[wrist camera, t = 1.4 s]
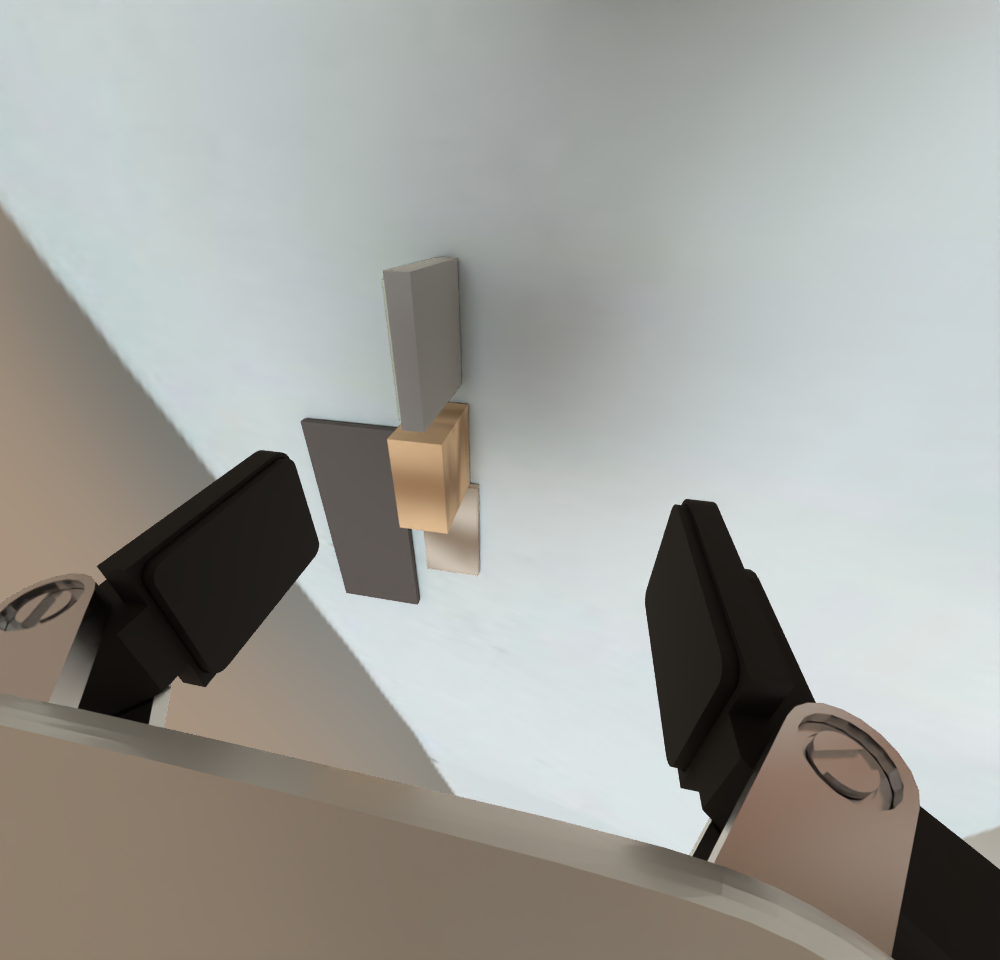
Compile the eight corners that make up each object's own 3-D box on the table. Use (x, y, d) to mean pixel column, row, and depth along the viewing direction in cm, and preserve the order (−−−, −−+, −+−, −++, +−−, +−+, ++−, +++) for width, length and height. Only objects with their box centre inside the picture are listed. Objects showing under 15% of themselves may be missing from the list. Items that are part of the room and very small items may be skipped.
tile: (432, 256, 25) (376, 270, 19) (457, 257, 25) (410, 272, 18) (440, 382, 30) (397, 429, 23) (461, 384, 29) (424, 432, 23)
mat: (304, 418, 33) (300, 421, 33) (397, 427, 32) (394, 431, 32) (349, 588, 44) (346, 592, 44) (419, 600, 43) (417, 604, 42)
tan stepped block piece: (413, 399, 31) (375, 438, 25) (478, 405, 30) (453, 446, 25) (429, 564, 40) (404, 617, 34) (479, 571, 39) (462, 627, 34)
